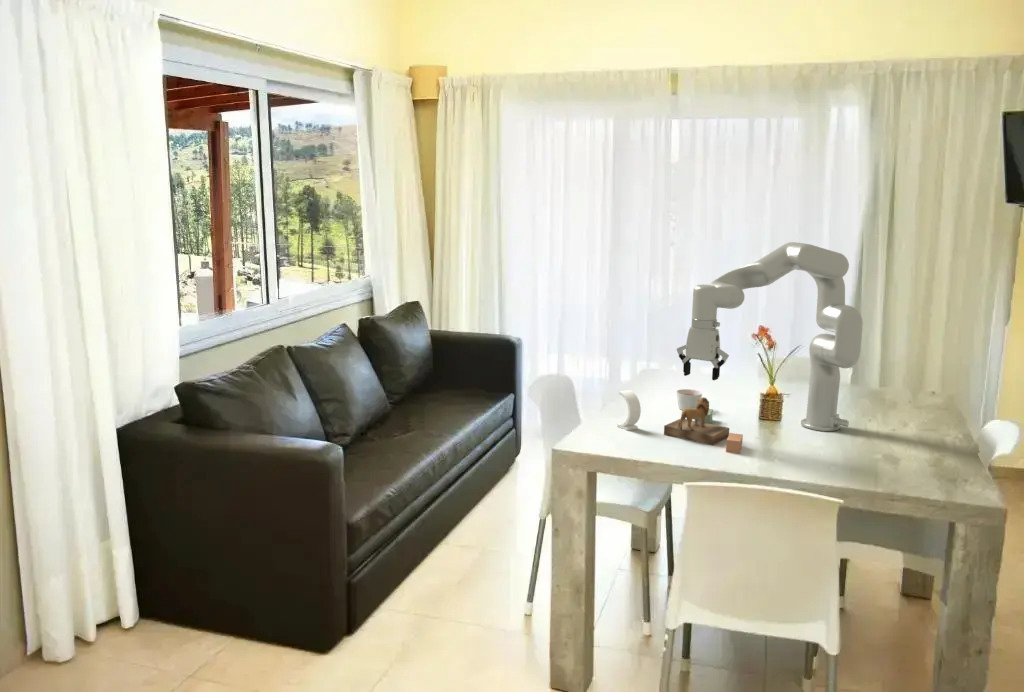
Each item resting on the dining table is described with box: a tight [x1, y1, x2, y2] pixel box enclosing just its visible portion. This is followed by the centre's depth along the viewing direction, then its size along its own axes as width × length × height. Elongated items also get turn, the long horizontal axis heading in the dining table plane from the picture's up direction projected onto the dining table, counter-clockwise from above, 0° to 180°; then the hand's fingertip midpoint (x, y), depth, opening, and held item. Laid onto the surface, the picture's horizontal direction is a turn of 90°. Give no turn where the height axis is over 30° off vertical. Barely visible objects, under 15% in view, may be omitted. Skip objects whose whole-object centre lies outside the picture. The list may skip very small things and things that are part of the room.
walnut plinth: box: [663, 418, 730, 446], centre depth 273 cm, size 17×12×3 cm
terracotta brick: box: [725, 432, 744, 454], centre depth 260 cm, size 8×4×4 cm, turn 160°
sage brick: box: [697, 408, 714, 424], centre depth 290 cm, size 8×4×4 cm, turn 160°
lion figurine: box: [678, 396, 710, 430], centre depth 271 cm, size 15×5×9 cm, turn 137°
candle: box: [676, 388, 703, 411], centre depth 306 cm, size 9×9×6 cm
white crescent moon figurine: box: [617, 389, 642, 431], centre depth 280 cm, size 5×6×12 cm
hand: (700, 377), depth 270 cm, fingers open, 9 cm apart
